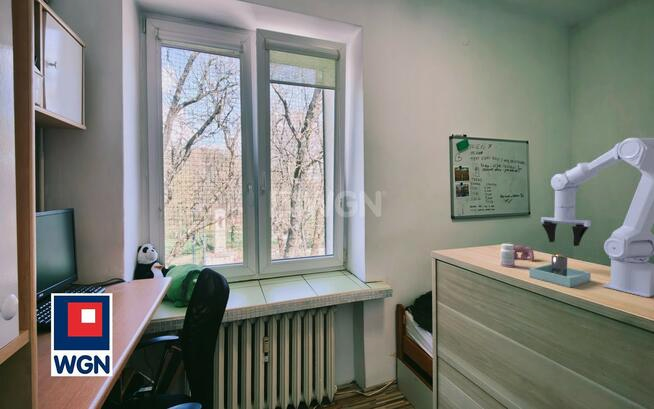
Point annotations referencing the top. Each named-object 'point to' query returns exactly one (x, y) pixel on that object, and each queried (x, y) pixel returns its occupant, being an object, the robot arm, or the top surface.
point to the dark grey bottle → (559, 265)
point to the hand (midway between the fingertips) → (563, 243)
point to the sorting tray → (560, 276)
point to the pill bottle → (507, 255)
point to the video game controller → (524, 252)
